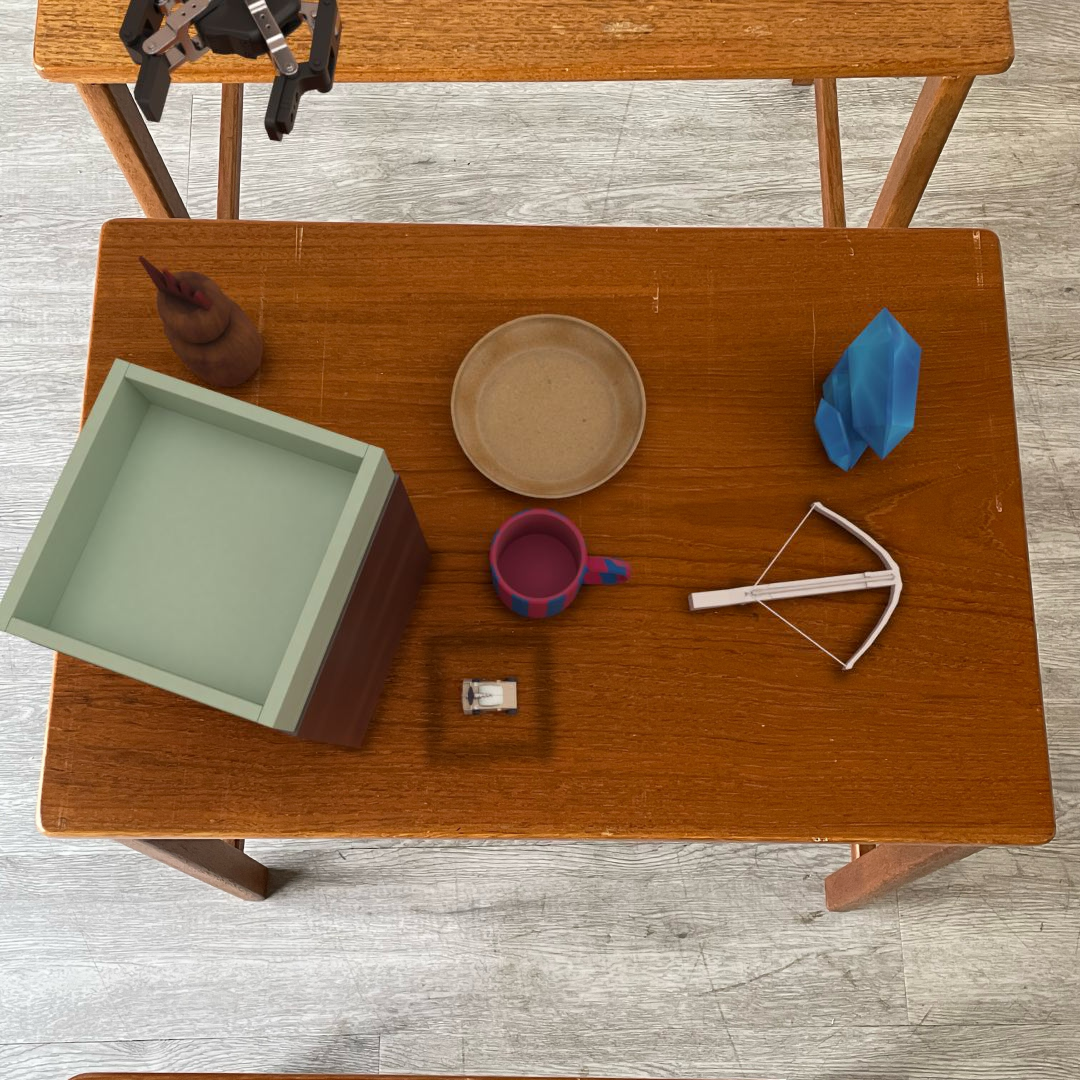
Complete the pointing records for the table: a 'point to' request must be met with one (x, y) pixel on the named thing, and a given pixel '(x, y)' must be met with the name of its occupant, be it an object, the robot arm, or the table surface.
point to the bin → (199, 545)
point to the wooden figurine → (206, 327)
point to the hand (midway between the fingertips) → (210, 124)
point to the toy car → (489, 696)
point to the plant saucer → (548, 406)
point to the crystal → (870, 393)
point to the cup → (546, 563)
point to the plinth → (366, 628)
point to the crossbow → (815, 585)
